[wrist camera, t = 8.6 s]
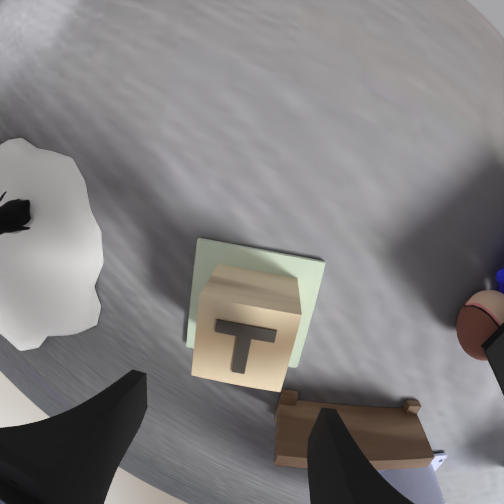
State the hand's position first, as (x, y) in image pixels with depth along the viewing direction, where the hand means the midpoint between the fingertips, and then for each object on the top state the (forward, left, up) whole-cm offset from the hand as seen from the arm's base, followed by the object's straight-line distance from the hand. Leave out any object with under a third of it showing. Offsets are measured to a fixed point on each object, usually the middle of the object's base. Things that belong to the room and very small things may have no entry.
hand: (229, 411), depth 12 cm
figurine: (0, +21, -10) cm, 23 cm away
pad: (0, 0, -10) cm, 10 cm away
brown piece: (-8, -9, -10) cm, 16 cm away
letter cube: (0, 0, -10) cm, 10 cm away
